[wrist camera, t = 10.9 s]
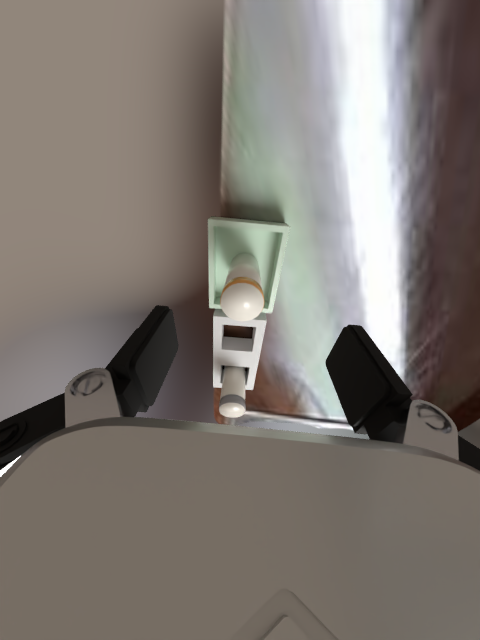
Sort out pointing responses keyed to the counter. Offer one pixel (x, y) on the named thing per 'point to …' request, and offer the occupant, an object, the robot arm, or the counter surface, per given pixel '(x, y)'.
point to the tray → (245, 238)
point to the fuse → (233, 392)
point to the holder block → (236, 347)
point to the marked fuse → (243, 289)
